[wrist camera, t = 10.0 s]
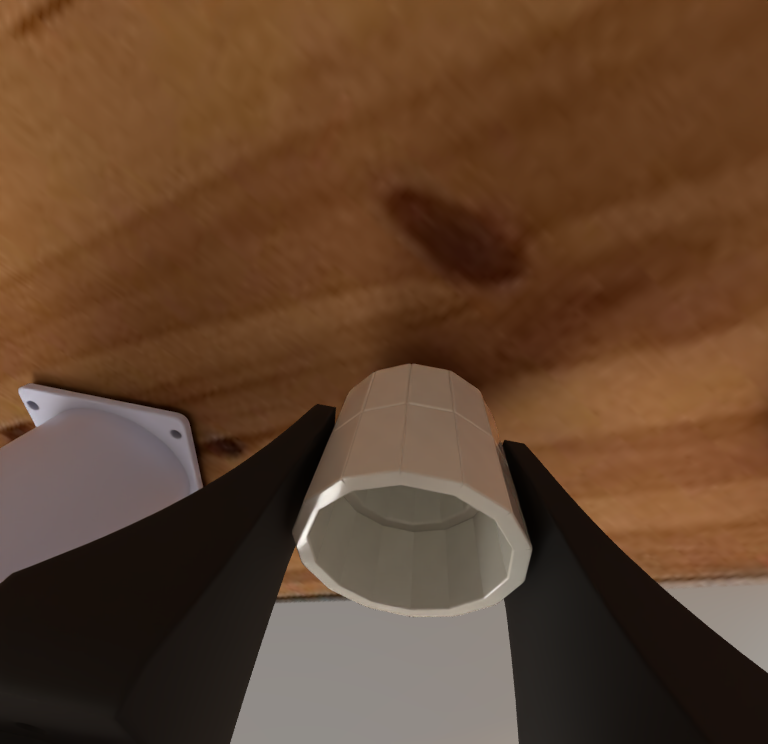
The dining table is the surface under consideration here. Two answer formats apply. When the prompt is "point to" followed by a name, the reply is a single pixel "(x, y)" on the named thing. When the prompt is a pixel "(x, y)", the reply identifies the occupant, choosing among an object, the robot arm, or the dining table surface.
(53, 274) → the dining table surface
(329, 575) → the white faceted tumbler
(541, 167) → the dining table surface
